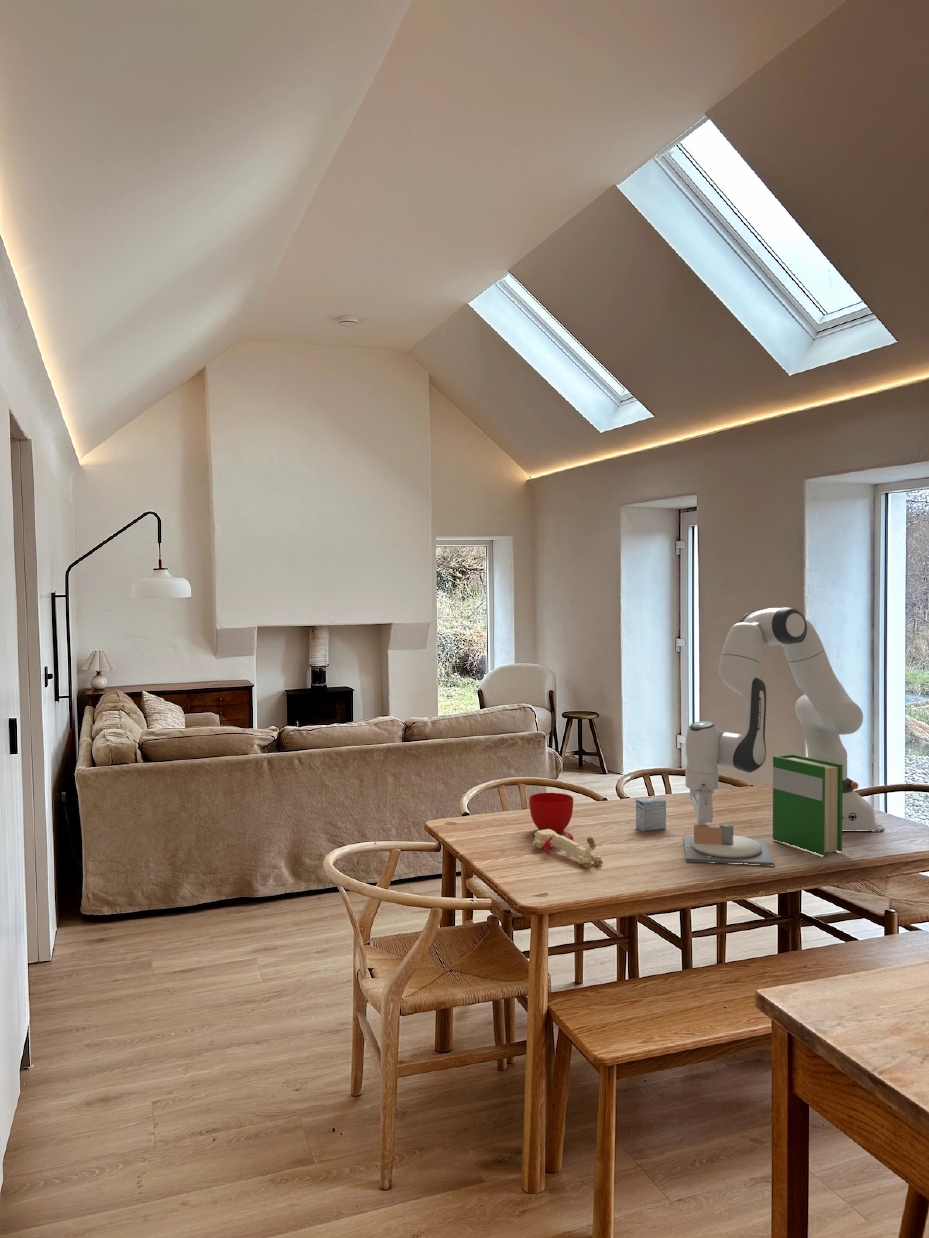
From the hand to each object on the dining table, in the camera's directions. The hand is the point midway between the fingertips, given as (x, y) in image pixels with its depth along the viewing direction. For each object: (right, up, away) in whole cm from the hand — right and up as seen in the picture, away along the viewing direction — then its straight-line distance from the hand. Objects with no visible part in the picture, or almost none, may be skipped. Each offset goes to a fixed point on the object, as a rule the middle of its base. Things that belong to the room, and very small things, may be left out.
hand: (701, 830), depth 254 cm
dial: (+5, -3, -6) cm, 9 cm away
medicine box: (-10, -4, +18) cm, 21 cm away
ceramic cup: (-40, -4, +18) cm, 44 cm away
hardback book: (+28, -4, -2) cm, 29 cm away
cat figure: (-39, -5, -8) cm, 40 cm away
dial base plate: (+5, -4, -6) cm, 9 cm away
